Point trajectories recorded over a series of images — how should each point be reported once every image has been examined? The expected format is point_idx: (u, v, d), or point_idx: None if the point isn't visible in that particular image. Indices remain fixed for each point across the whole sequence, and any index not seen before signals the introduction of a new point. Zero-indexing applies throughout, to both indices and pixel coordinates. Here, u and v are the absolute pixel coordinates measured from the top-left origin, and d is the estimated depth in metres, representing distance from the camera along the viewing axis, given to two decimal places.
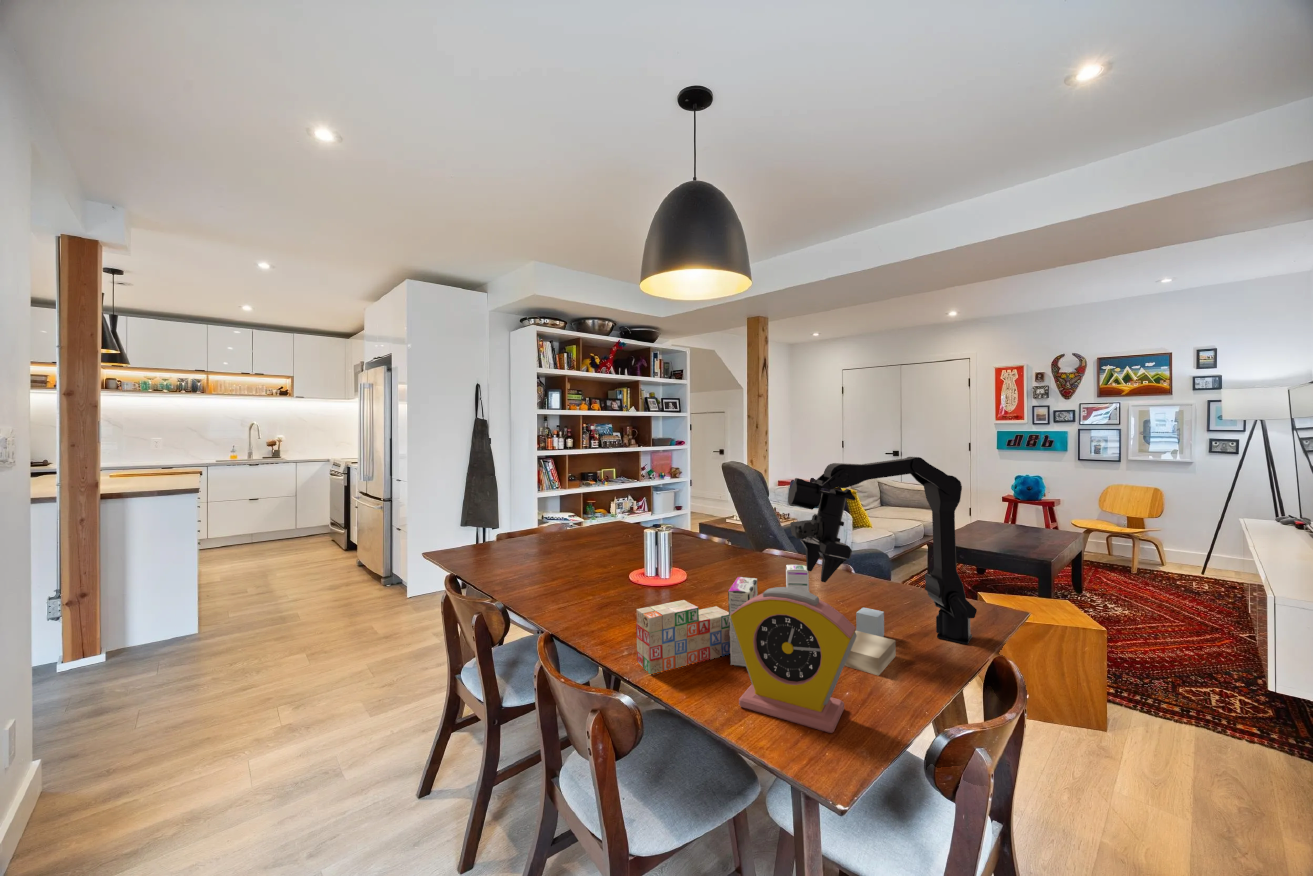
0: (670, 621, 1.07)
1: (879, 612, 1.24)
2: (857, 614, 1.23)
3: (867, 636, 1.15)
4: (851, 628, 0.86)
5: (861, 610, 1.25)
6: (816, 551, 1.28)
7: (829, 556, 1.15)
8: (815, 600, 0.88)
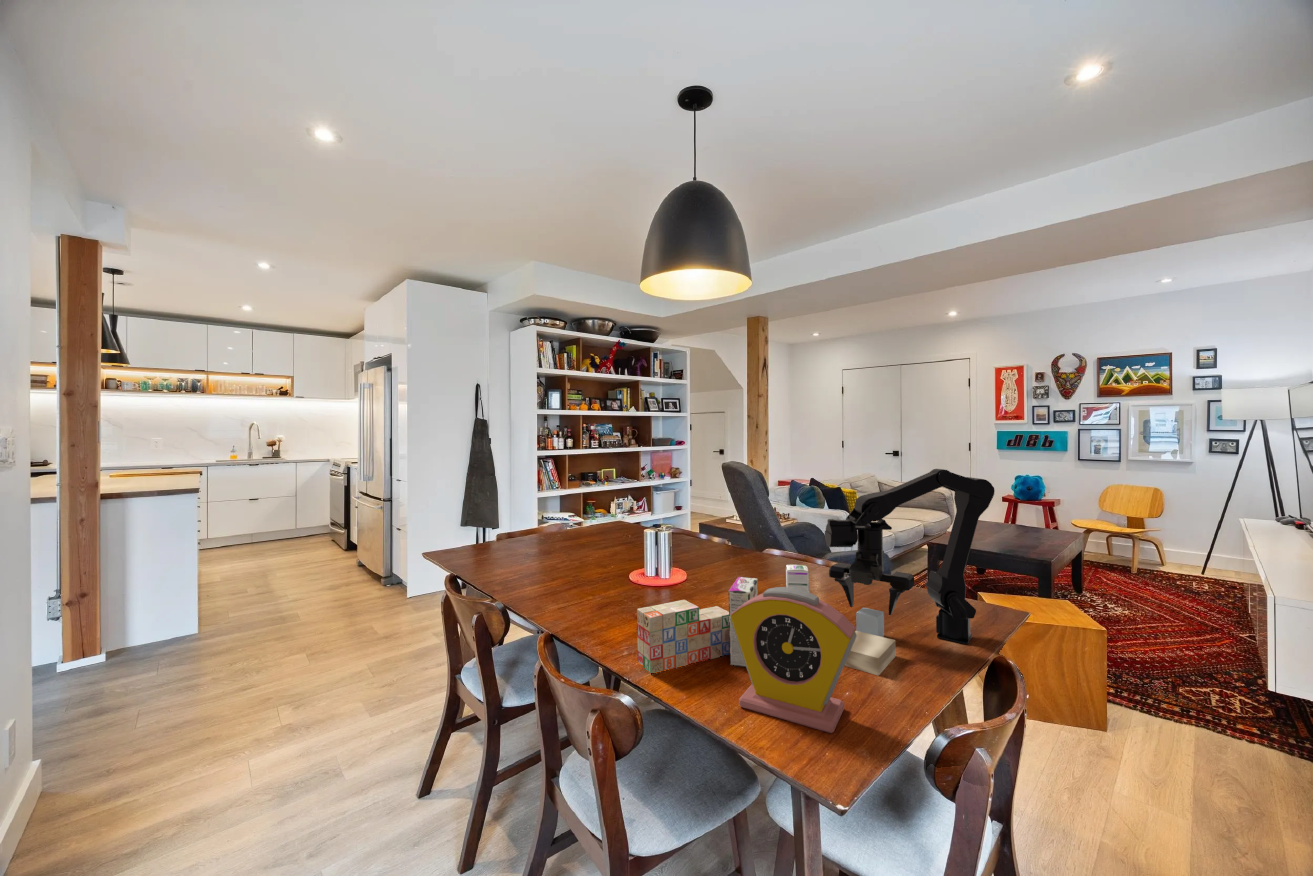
0: (671, 620, 1.07)
1: (879, 612, 1.23)
2: (857, 614, 1.23)
3: (867, 636, 1.15)
4: (851, 628, 0.86)
5: (861, 610, 1.25)
6: (851, 585, 1.28)
7: (903, 590, 1.17)
8: (815, 600, 0.88)
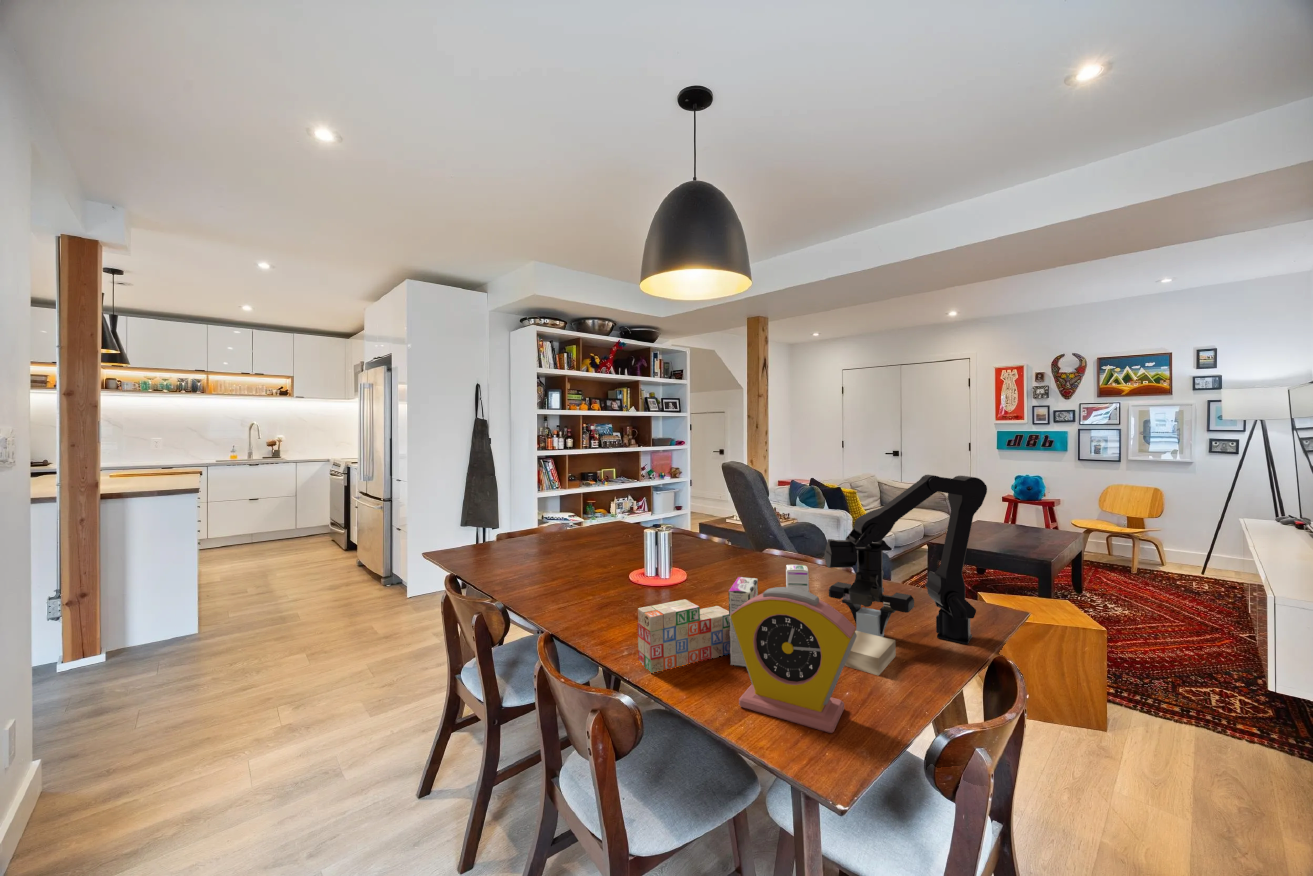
0: (671, 620, 1.07)
1: (879, 612, 1.23)
2: (857, 614, 1.23)
3: (867, 636, 1.15)
4: (851, 628, 0.86)
5: (861, 610, 1.25)
6: (859, 607, 1.26)
7: (894, 610, 1.19)
8: (815, 600, 0.88)
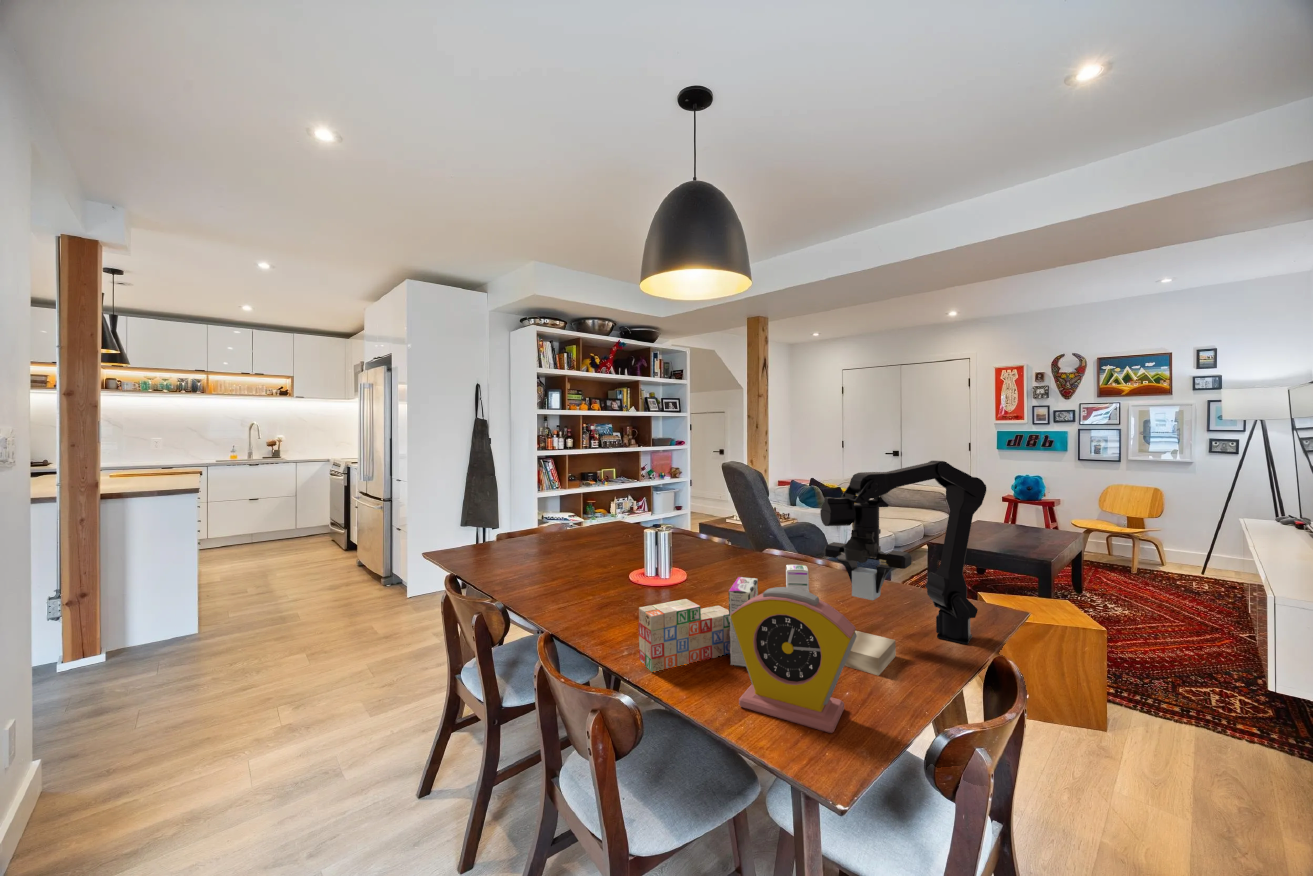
0: (672, 619, 1.07)
1: (875, 571, 1.20)
2: (853, 572, 1.20)
3: (867, 636, 1.15)
4: (851, 628, 0.86)
5: (857, 569, 1.22)
6: (855, 566, 1.23)
7: (891, 568, 1.16)
8: (815, 600, 0.88)
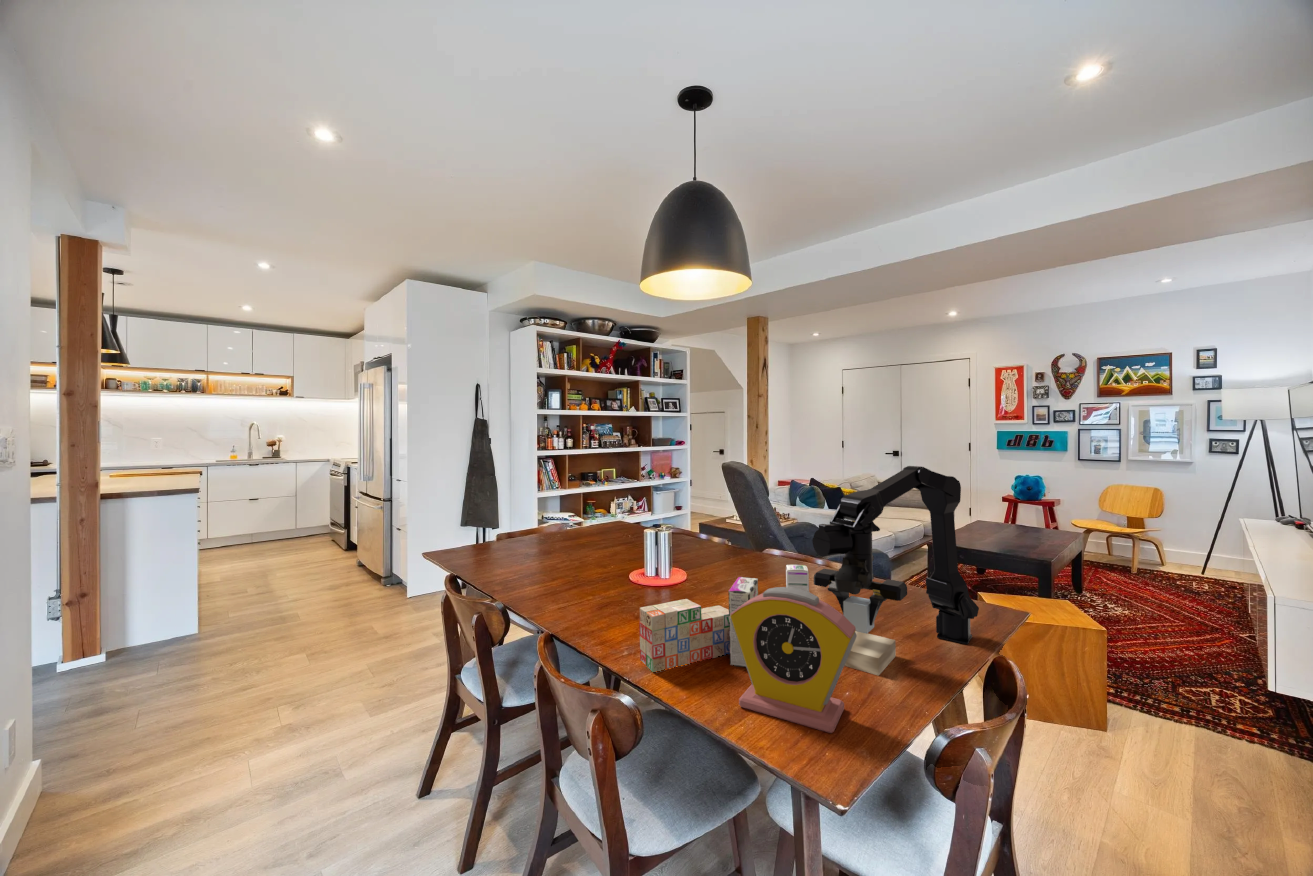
0: (673, 619, 1.07)
1: (869, 601, 1.12)
2: (844, 603, 1.11)
3: (867, 636, 1.15)
4: (851, 628, 0.86)
5: (849, 599, 1.13)
6: (846, 595, 1.15)
7: (885, 599, 1.07)
8: (815, 600, 0.88)
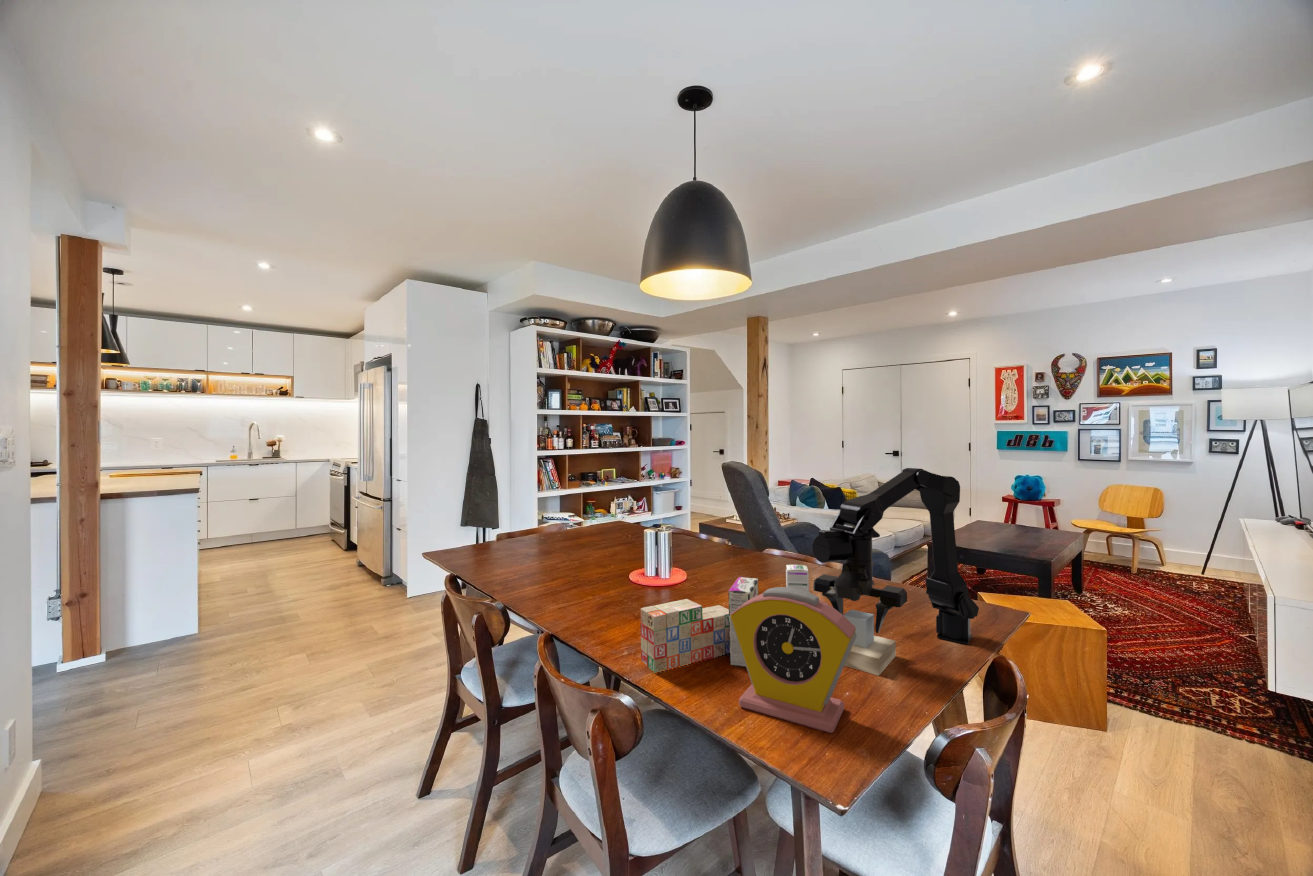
0: (674, 619, 1.07)
1: (868, 615, 1.12)
2: None
3: None
4: (851, 628, 0.86)
5: (848, 612, 1.13)
6: (840, 600, 1.15)
7: (891, 606, 1.06)
8: (815, 600, 0.88)
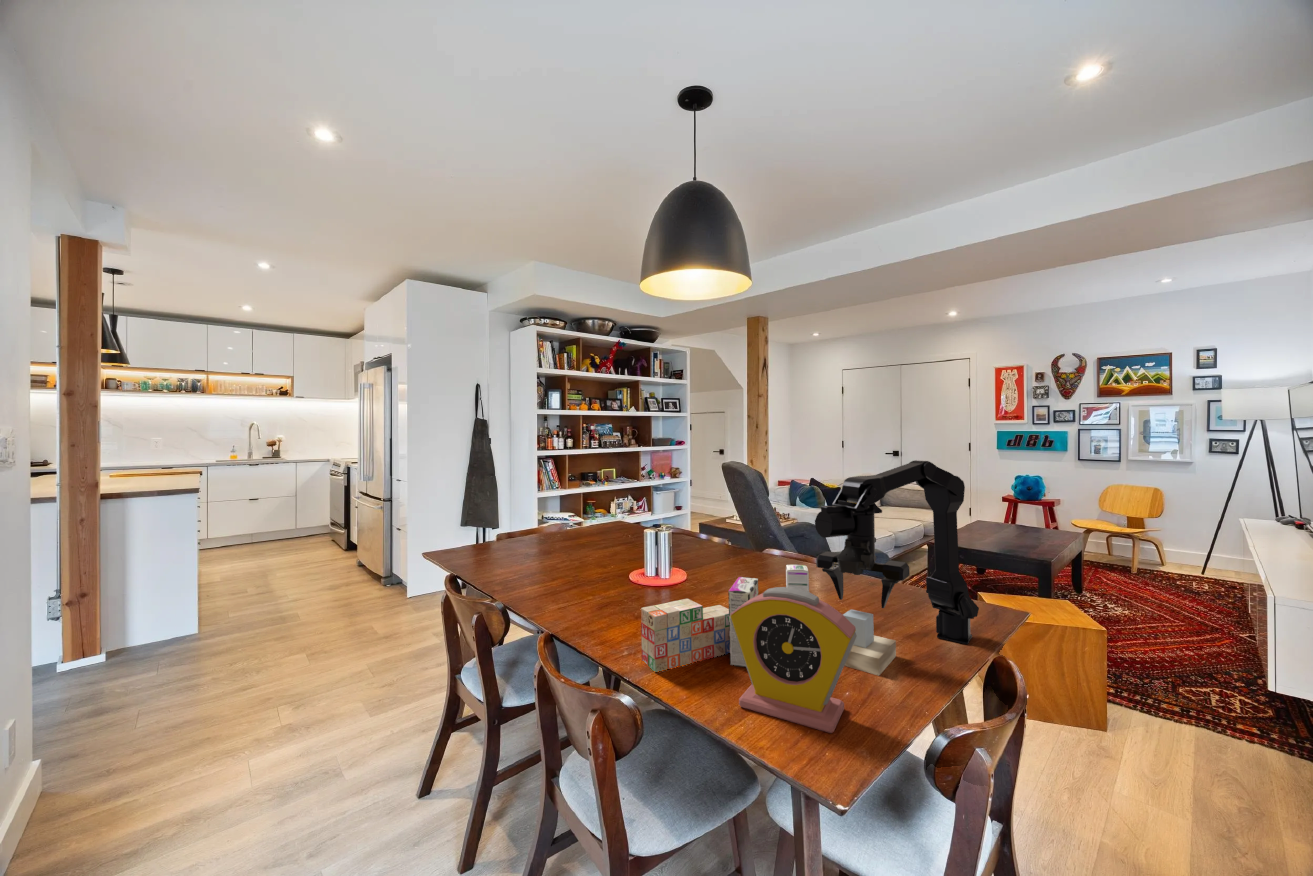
0: (675, 619, 1.07)
1: (868, 614, 1.12)
2: None
3: None
4: (851, 628, 0.86)
5: (848, 612, 1.13)
6: (841, 576, 1.17)
7: (897, 581, 1.06)
8: (815, 600, 0.88)
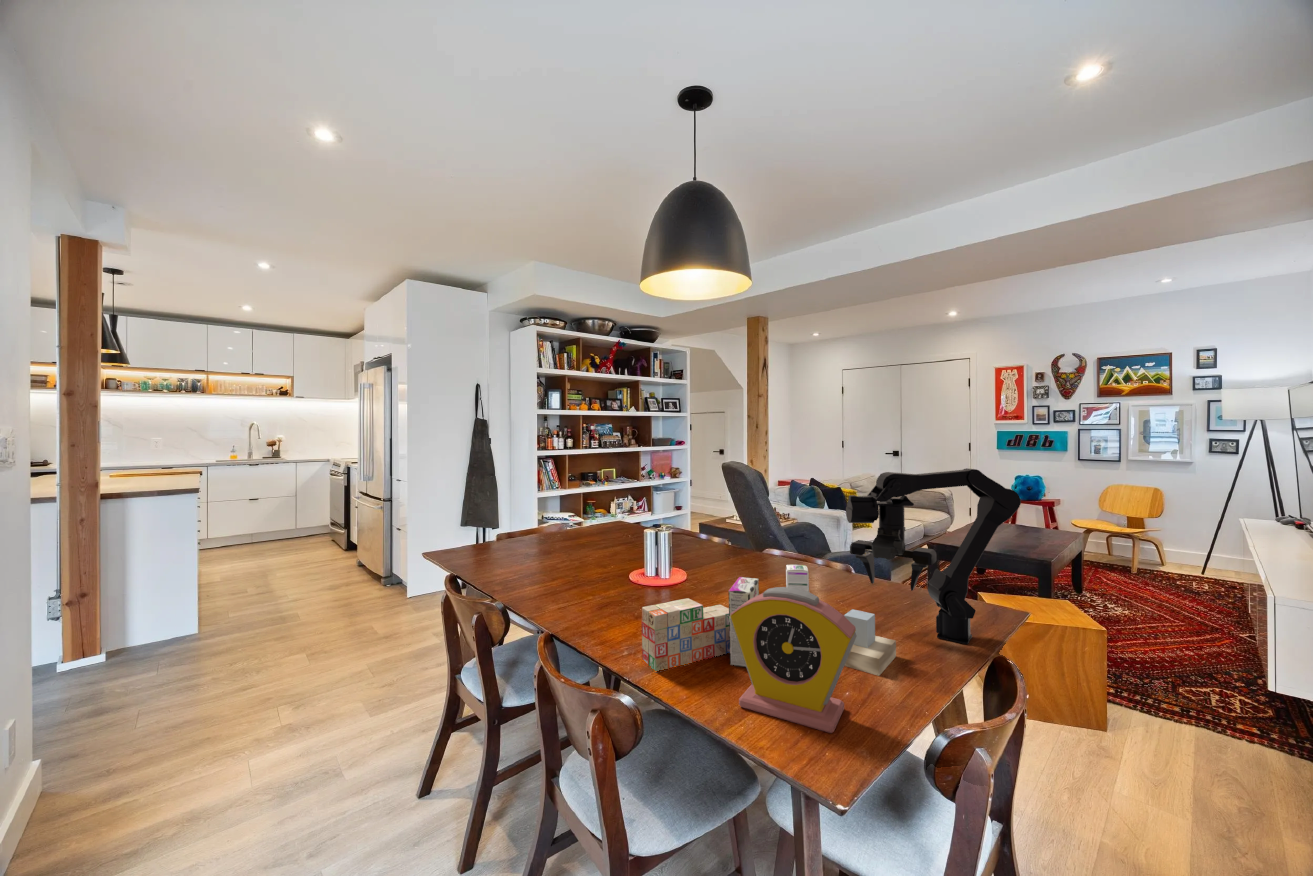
0: (675, 619, 1.08)
1: (869, 615, 1.12)
2: None
3: None
4: (851, 628, 0.86)
5: (850, 612, 1.13)
6: (872, 562, 1.28)
7: (926, 565, 1.18)
8: (815, 600, 0.88)
